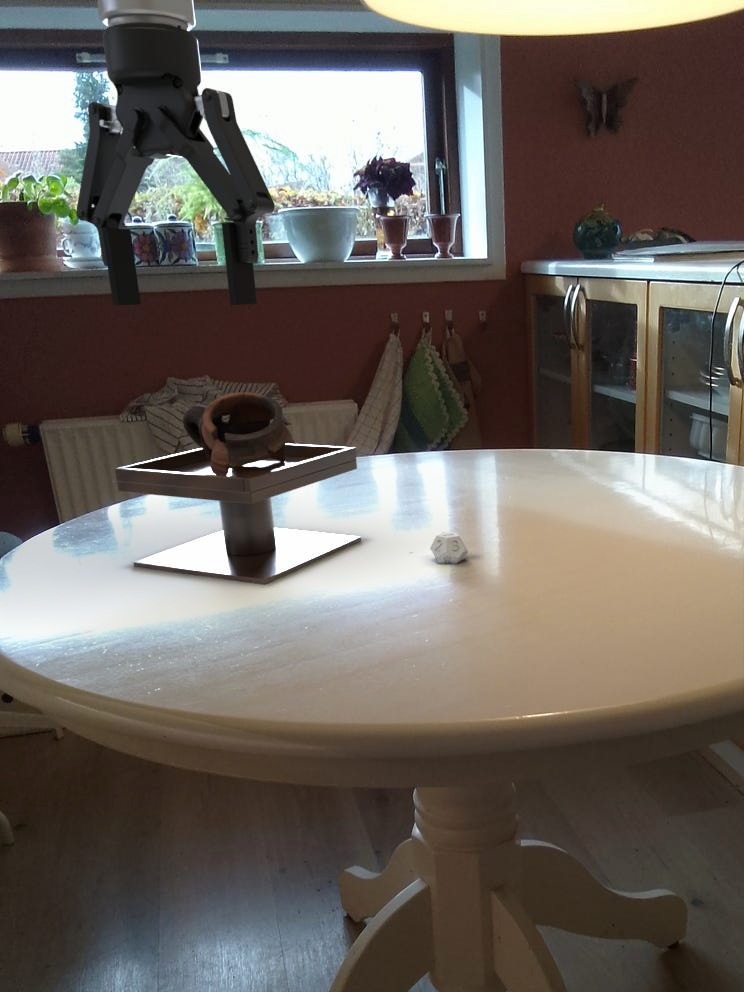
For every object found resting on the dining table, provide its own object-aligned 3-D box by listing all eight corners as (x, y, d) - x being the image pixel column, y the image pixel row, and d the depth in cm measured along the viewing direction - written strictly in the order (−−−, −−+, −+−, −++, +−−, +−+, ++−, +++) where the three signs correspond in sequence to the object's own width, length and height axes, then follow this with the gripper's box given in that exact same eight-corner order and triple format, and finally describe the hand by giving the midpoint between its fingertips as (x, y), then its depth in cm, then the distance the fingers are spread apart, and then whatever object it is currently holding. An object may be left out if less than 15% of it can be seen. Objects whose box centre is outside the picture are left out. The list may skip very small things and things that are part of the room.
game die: (428, 561, 91) (427, 531, 90) (465, 558, 91) (464, 528, 90) (433, 571, 87) (431, 540, 86) (471, 568, 88) (470, 537, 87)
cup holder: (131, 573, 90) (113, 468, 86) (243, 531, 104) (232, 440, 100) (262, 591, 83) (249, 478, 79) (363, 544, 97) (356, 447, 93)
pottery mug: (315, 464, 94) (309, 398, 88) (270, 524, 88) (259, 457, 82) (211, 432, 96) (197, 364, 90) (160, 488, 90) (142, 420, 84)
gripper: (301, 21, 74) (322, 303, 82) (75, 55, 84) (112, 303, 92) (241, -2, 68) (270, 305, 75) (4, 38, 78) (50, 306, 85)
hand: (183, 305), depth 84 cm, fingers open, 13 cm apart
